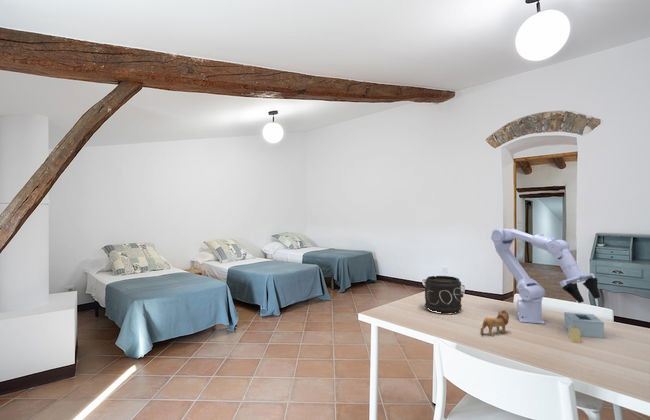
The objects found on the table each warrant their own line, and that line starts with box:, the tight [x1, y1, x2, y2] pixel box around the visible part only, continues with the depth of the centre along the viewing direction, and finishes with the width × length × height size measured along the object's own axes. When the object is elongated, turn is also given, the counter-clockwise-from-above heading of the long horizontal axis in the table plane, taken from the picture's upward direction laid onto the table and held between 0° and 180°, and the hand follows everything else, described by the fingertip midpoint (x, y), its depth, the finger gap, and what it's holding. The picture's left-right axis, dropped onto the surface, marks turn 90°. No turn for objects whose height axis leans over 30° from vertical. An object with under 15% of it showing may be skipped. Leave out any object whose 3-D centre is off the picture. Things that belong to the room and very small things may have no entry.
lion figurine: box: [479, 309, 510, 337], centre depth 138 cm, size 15×5×9 cm, turn 116°
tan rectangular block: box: [567, 326, 582, 344], centre depth 130 cm, size 2×5×4 cm, turn 159°
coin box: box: [563, 311, 605, 339], centre depth 138 cm, size 10×11×6 cm
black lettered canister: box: [424, 275, 464, 314], centre depth 172 cm, size 18×18×16 cm
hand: (589, 300), depth 132 cm, fingers open, 7 cm apart
